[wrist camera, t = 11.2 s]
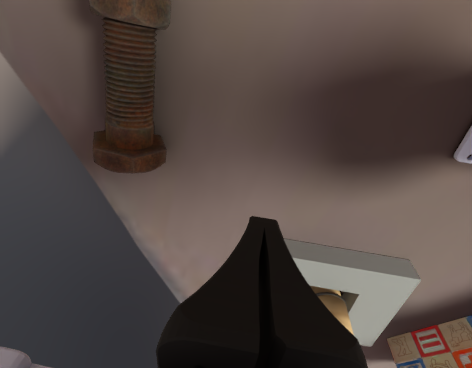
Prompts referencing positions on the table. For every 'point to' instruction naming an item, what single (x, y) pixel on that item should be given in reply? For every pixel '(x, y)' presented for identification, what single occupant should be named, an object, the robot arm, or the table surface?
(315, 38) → the table surface
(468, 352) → the stack of blocks
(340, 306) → the peg
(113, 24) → the bolt
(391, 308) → the board
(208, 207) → the table surface
